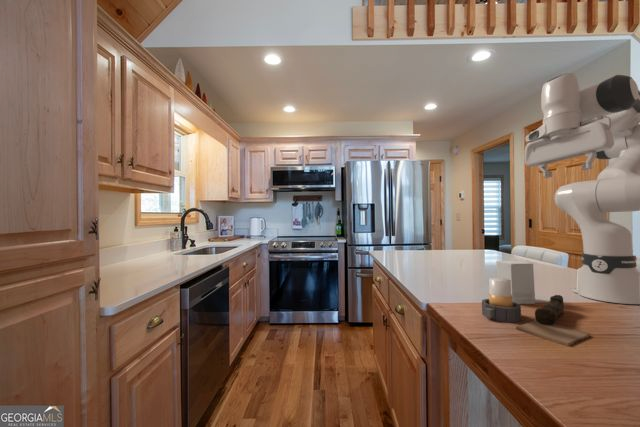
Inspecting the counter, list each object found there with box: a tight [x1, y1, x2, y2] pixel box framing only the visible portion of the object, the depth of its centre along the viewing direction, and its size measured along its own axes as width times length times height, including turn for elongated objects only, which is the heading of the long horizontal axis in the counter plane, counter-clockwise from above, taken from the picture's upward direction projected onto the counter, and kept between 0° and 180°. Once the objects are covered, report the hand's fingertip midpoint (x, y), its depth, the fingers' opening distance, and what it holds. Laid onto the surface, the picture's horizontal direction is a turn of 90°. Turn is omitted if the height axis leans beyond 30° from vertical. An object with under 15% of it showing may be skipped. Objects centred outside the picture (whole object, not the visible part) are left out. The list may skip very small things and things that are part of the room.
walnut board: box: [515, 319, 591, 347], centre depth 63 cm, size 10×10×1 cm
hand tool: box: [534, 294, 565, 325], centre depth 71 cm, size 19×4×5 cm, turn 127°
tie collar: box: [481, 298, 522, 323], centre depth 74 cm, size 10×9×4 cm
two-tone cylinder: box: [488, 277, 513, 307], centre depth 74 cm, size 5×5×10 cm
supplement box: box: [495, 259, 536, 305], centre depth 88 cm, size 7×7×13 cm
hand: (566, 173), depth 78 cm, fingers open, 8 cm apart
